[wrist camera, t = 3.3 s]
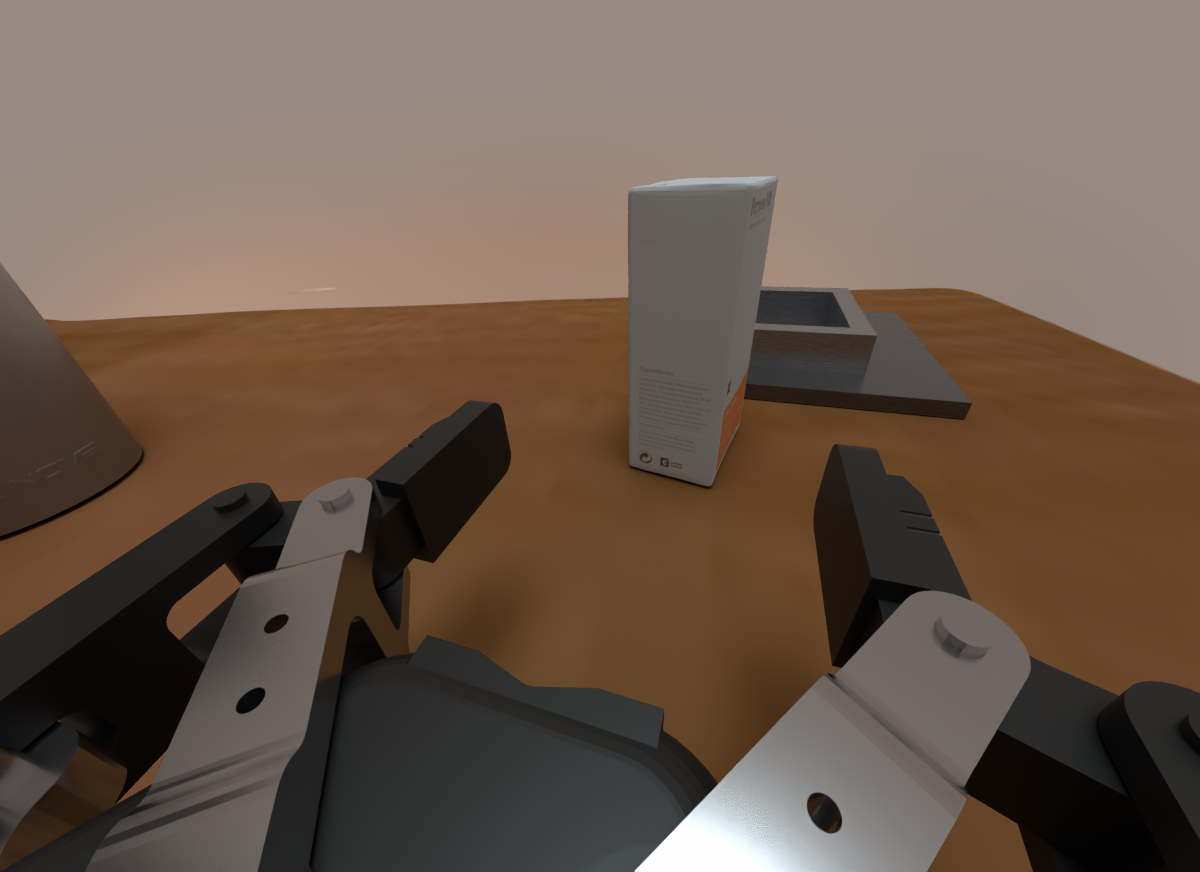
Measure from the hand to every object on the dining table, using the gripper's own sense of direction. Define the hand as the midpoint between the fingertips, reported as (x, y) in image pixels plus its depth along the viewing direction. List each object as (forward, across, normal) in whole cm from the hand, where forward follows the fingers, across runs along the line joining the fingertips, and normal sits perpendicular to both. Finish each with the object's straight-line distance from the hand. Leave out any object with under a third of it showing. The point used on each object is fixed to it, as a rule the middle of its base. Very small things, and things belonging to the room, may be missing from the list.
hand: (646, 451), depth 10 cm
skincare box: (+10, 0, +7) cm, 12 cm away
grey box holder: (+24, -5, +7) cm, 26 cm away
